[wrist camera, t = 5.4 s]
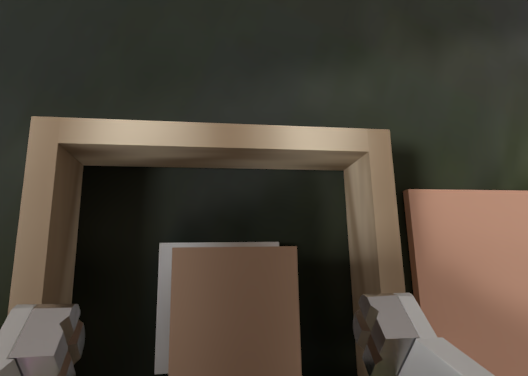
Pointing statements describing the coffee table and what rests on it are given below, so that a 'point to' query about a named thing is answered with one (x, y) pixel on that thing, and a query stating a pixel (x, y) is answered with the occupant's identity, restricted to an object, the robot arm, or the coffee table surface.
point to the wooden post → (228, 310)
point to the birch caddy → (198, 156)
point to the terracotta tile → (473, 271)
